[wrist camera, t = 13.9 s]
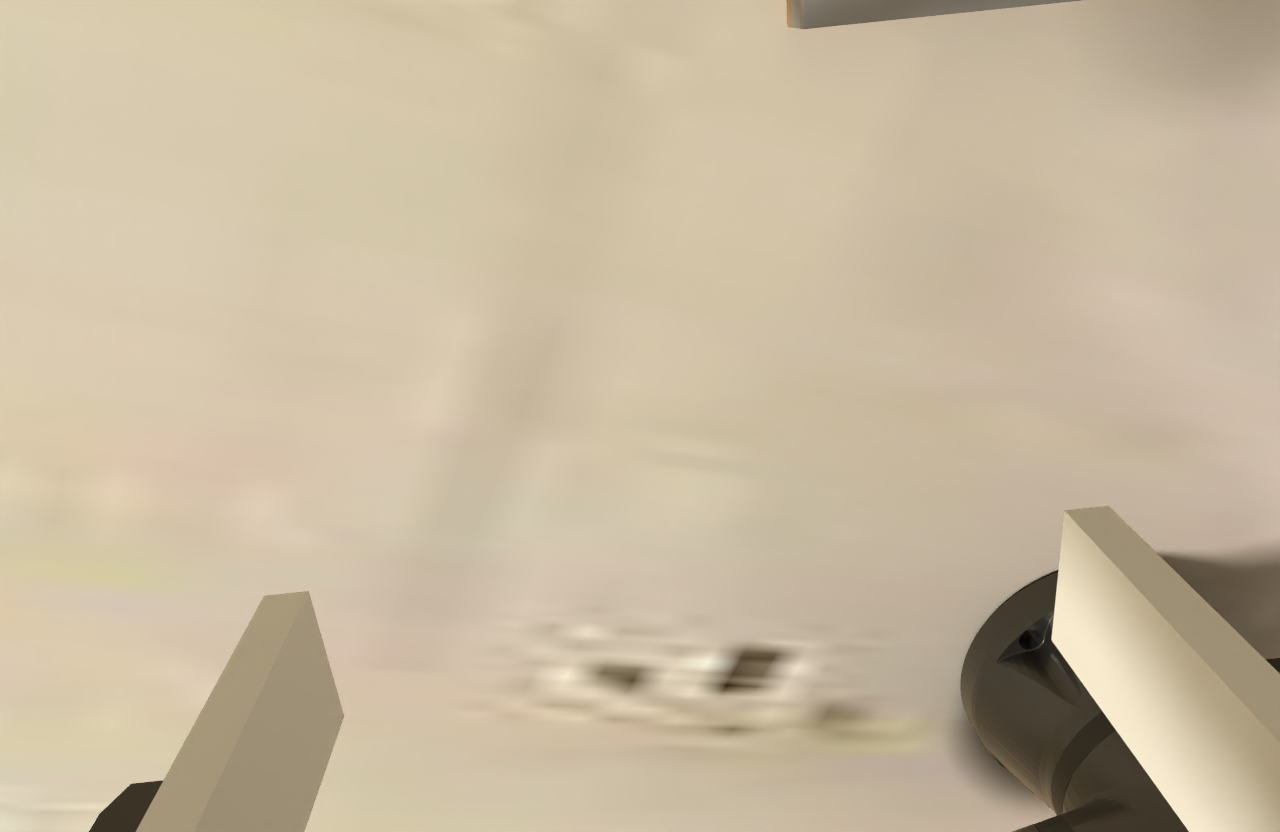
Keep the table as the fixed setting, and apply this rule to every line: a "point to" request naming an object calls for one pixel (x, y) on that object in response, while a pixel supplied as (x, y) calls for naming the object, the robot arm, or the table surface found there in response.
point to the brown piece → (886, 10)
